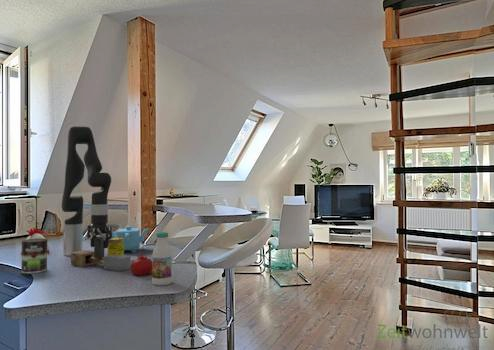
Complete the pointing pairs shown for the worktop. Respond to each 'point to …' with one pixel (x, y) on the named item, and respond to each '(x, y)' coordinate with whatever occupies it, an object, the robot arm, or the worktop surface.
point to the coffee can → (34, 256)
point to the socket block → (81, 258)
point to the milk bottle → (162, 261)
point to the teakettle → (130, 237)
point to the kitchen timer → (36, 236)
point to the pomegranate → (141, 265)
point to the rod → (98, 251)
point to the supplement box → (116, 246)
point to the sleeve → (117, 262)
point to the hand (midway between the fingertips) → (99, 247)
